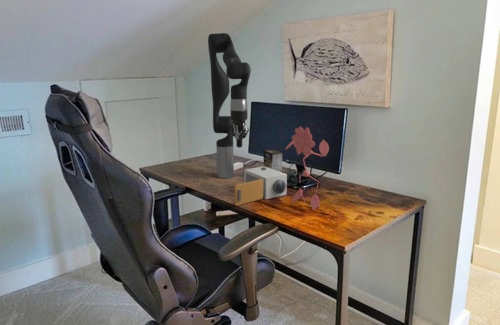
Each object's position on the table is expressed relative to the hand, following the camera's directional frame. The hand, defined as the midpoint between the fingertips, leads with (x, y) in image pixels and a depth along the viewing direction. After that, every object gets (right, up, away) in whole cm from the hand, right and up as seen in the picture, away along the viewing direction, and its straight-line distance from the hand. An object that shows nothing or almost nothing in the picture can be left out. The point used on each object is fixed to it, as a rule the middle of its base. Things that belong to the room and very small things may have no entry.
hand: (239, 147), depth 174 cm
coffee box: (+17, -17, +29) cm, 37 cm away
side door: (+5, -24, -4) cm, 25 cm away
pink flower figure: (+26, -27, -10) cm, 39 cm away
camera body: (+12, -21, +11) cm, 27 cm away
